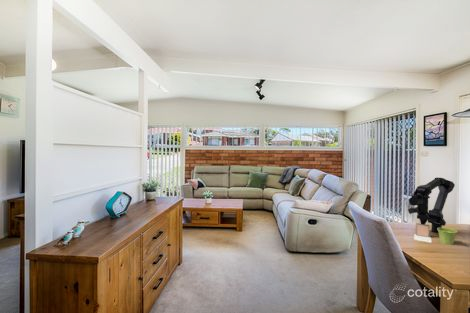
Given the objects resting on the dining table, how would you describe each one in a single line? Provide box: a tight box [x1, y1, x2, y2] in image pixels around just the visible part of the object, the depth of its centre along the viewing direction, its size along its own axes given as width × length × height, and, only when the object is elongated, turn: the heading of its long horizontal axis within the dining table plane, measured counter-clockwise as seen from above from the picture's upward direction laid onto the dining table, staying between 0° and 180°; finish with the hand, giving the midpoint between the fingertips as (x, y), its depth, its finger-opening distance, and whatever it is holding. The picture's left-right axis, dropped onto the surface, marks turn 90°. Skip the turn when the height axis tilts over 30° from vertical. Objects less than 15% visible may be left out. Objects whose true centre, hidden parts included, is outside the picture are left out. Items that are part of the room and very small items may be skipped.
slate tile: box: [415, 223, 430, 237], centre depth 164 cm, size 2×7×8 cm, turn 52°
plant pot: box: [437, 227, 458, 246], centre depth 152 cm, size 9×9×9 cm
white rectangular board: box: [413, 233, 432, 244], centre depth 160 cm, size 14×9×1 cm, turn 142°
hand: (422, 226), depth 168 cm, fingers closed
